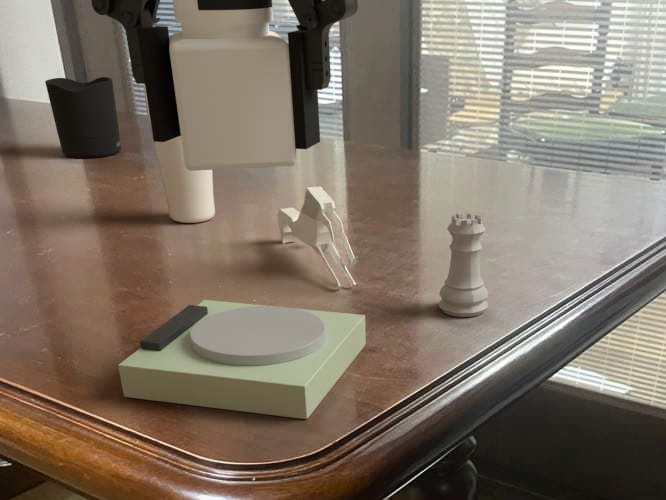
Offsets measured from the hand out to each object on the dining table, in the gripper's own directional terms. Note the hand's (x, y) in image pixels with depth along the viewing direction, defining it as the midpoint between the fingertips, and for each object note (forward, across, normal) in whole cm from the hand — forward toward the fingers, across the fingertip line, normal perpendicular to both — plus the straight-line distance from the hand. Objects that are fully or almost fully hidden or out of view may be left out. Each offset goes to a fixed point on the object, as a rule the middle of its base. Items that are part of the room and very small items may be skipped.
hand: (236, 141), depth 58 cm
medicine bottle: (+1, 0, 0) cm, 1 cm away
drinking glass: (+16, +24, -38) cm, 48 cm away
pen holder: (+16, +56, -69) cm, 91 cm away
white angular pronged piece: (+16, +4, -25) cm, 30 cm away
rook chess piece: (+16, -13, -16) cm, 26 cm away
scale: (+16, 0, +1) cm, 16 cm away
